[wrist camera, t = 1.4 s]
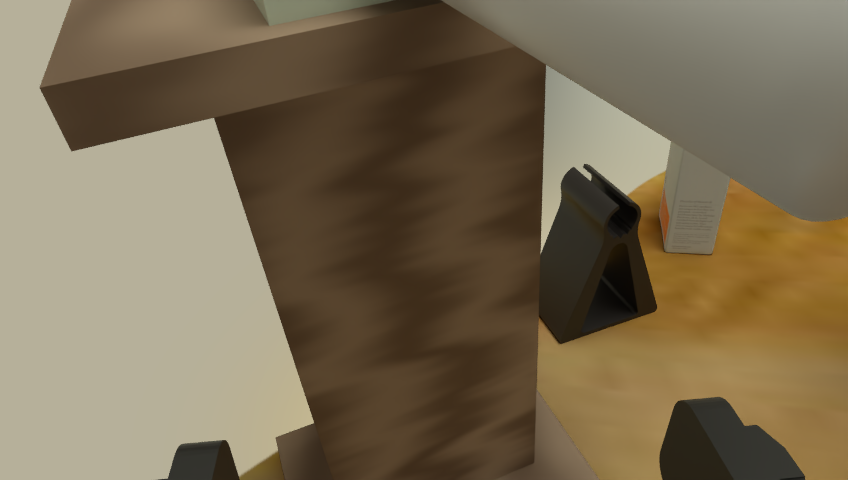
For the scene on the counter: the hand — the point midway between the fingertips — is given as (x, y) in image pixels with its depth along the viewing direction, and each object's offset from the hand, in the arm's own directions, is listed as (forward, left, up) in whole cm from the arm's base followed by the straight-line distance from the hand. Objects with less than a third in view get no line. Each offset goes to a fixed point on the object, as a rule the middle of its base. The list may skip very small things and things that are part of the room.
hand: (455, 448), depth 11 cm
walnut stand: (-3, -15, -27) cm, 31 cm away
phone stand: (-21, -25, -27) cm, 43 cm away
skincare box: (-34, -29, -27) cm, 52 cm away
